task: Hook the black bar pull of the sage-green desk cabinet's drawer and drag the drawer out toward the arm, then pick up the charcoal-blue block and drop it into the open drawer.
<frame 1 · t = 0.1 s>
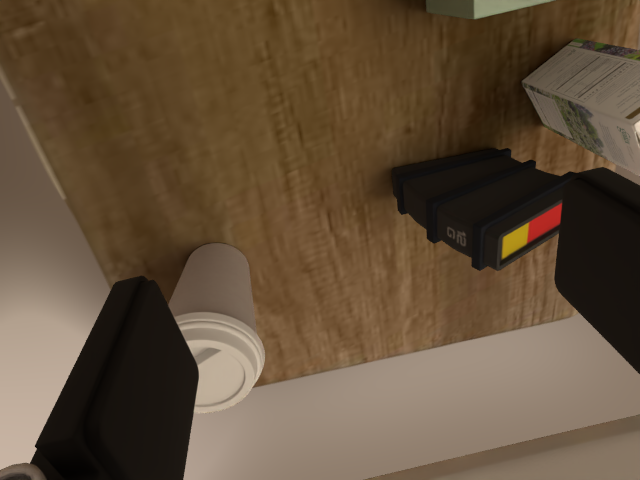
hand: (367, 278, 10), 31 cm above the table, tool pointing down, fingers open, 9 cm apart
syrup box: (555, 84, 41), on the table
coffee cup: (218, 268, 46), on the table
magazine: (454, 168, 44), on the table
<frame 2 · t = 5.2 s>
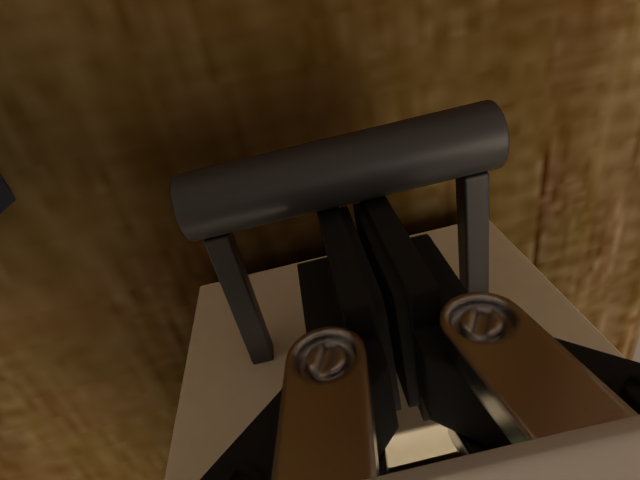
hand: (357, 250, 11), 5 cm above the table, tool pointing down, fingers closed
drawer: (382, 407, 14), point 5 cm above the table, slide at 0.6 cm, touching gripper
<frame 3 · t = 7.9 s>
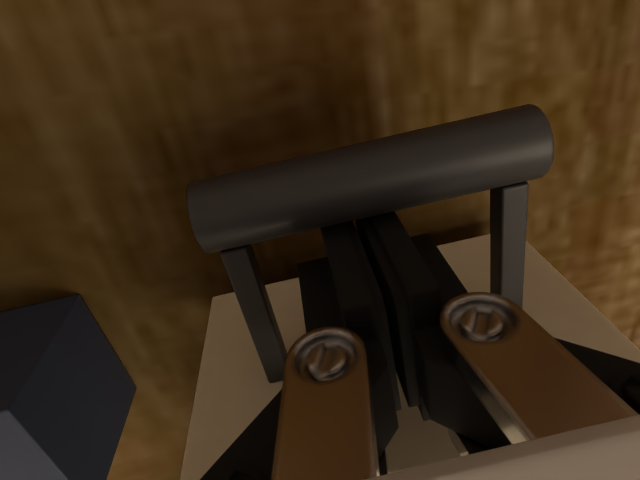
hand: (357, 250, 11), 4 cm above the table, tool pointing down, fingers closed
block: (47, 358, 17), on the table
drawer: (403, 428, 14), point 5 cm above the table, slide at 9.2 cm, touching gripper
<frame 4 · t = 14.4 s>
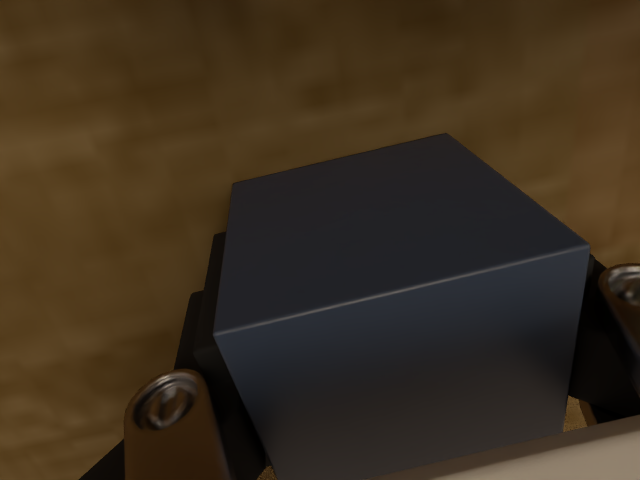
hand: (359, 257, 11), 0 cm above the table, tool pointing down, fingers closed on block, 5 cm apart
block: (356, 248, 11), on the table, touching gripper
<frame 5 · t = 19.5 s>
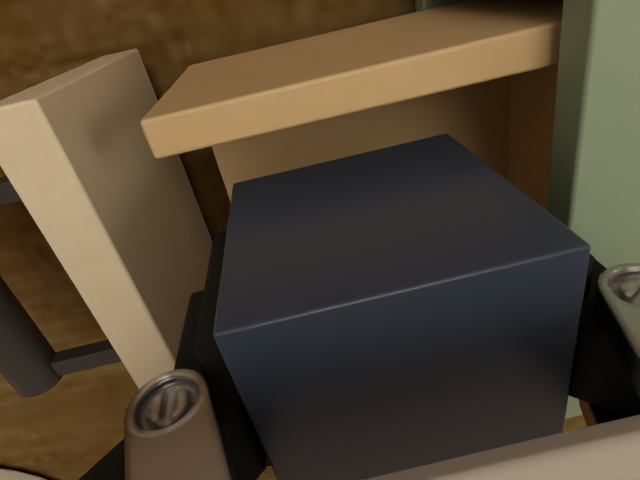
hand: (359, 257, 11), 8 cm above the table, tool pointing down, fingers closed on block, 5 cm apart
block: (356, 248, 11), point 7 cm above the table, touching gripper
cabinet: (603, 90, 17), on the table
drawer: (269, 224, 13), point 5 cm above the table, slide at 9.3 cm
when the fingers open (9 cm above the table, at t = 28.9 s): block drops 6 cm, resting on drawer.
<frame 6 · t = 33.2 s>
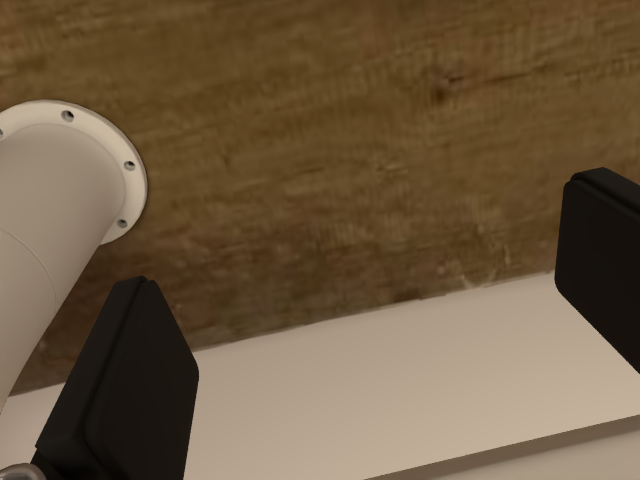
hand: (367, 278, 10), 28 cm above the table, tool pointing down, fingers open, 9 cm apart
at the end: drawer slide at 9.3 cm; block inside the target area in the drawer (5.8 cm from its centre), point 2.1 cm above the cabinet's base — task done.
